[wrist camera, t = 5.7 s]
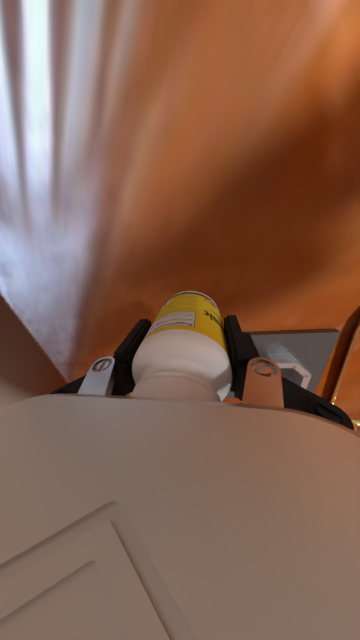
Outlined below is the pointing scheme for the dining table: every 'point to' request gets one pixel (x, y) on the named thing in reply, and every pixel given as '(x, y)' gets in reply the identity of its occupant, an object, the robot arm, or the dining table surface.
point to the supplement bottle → (184, 352)
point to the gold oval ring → (344, 365)
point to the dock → (297, 353)
